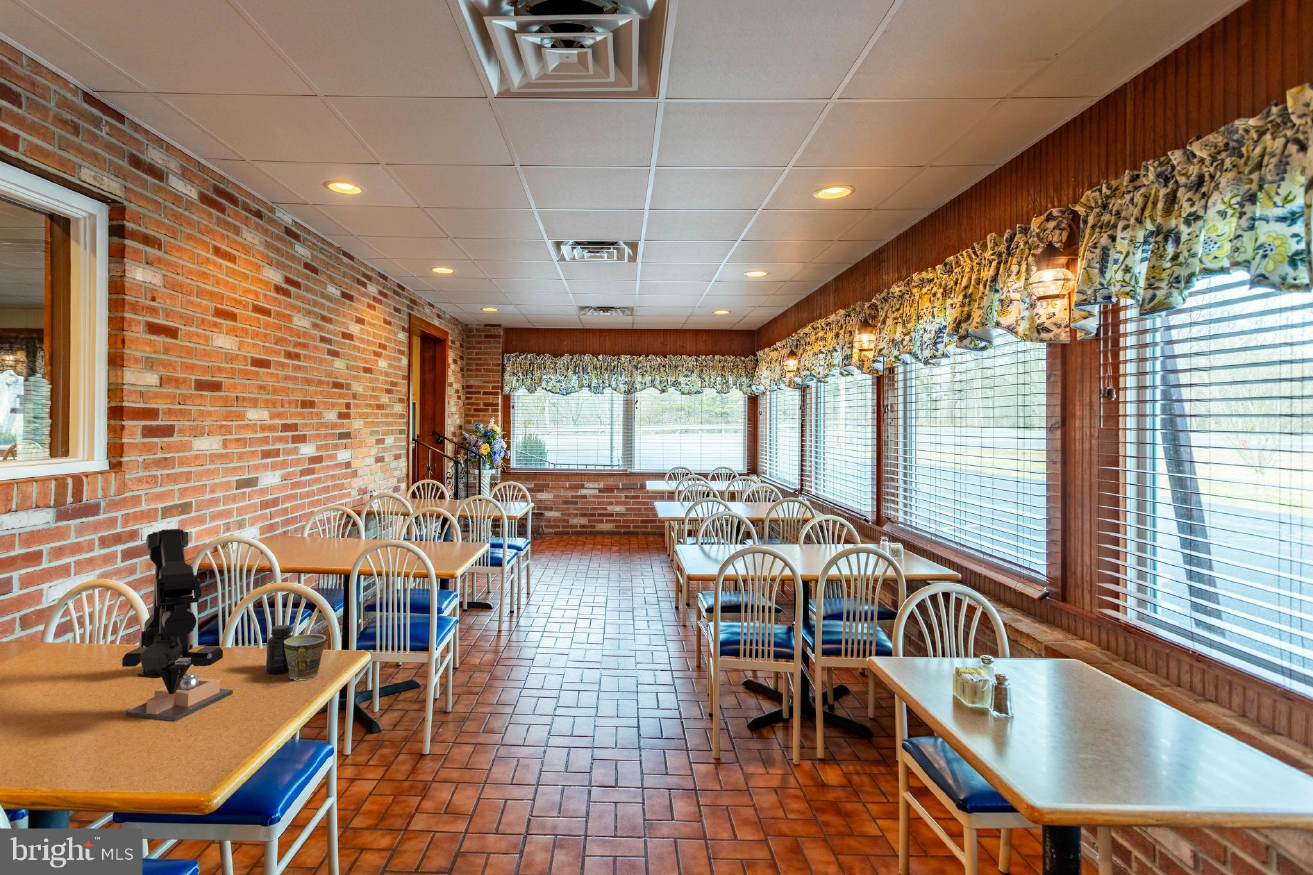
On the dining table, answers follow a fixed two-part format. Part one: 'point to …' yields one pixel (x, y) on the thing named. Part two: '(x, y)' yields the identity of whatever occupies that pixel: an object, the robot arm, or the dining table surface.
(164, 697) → the square ring with tab
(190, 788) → the dining table surface
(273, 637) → the supplement bottle
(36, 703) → the dining table surface
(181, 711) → the base with metal peg
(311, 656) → the ceramic cup
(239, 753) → the dining table surface
